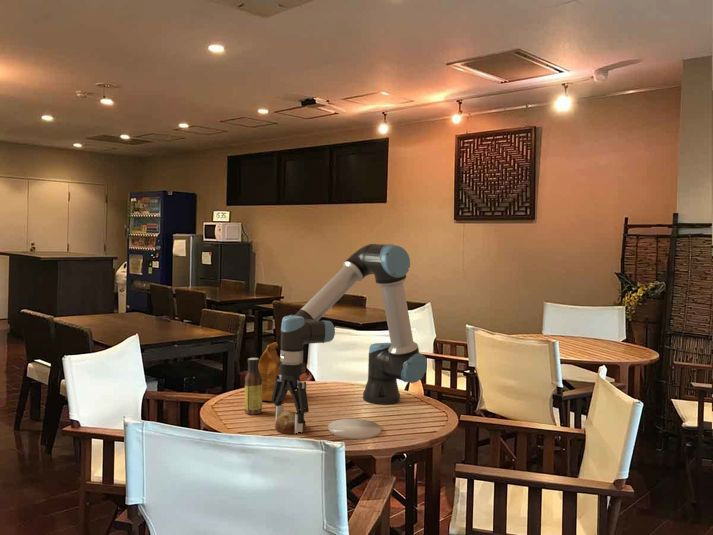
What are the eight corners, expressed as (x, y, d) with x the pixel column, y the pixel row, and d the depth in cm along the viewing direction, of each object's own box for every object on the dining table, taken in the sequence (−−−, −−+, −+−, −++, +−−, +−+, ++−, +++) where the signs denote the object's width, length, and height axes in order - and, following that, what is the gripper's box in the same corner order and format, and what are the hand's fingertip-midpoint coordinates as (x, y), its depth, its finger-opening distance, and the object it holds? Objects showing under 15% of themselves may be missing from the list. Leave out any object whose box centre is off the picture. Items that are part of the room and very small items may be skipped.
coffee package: (286, 396, 243) (288, 342, 242) (276, 404, 231) (278, 347, 230) (263, 393, 245) (265, 340, 244) (252, 401, 233) (253, 345, 232)
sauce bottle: (265, 412, 220) (267, 358, 219) (255, 416, 214) (257, 361, 213) (250, 409, 222) (252, 356, 222) (240, 413, 217) (242, 359, 216)
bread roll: (280, 434, 206) (271, 414, 205) (308, 422, 207) (298, 401, 206) (279, 444, 196) (269, 422, 195) (308, 431, 197) (298, 410, 196)
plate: (355, 419, 215) (355, 415, 215) (392, 432, 202) (392, 428, 202) (317, 428, 203) (317, 425, 203) (353, 443, 190) (353, 439, 190)
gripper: (262, 358, 205) (259, 422, 206) (303, 370, 189) (300, 439, 190) (280, 355, 211) (277, 418, 211) (321, 367, 194) (318, 435, 195)
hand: (288, 428), depth 201 cm, fingers closed on bread roll, 10 cm apart
